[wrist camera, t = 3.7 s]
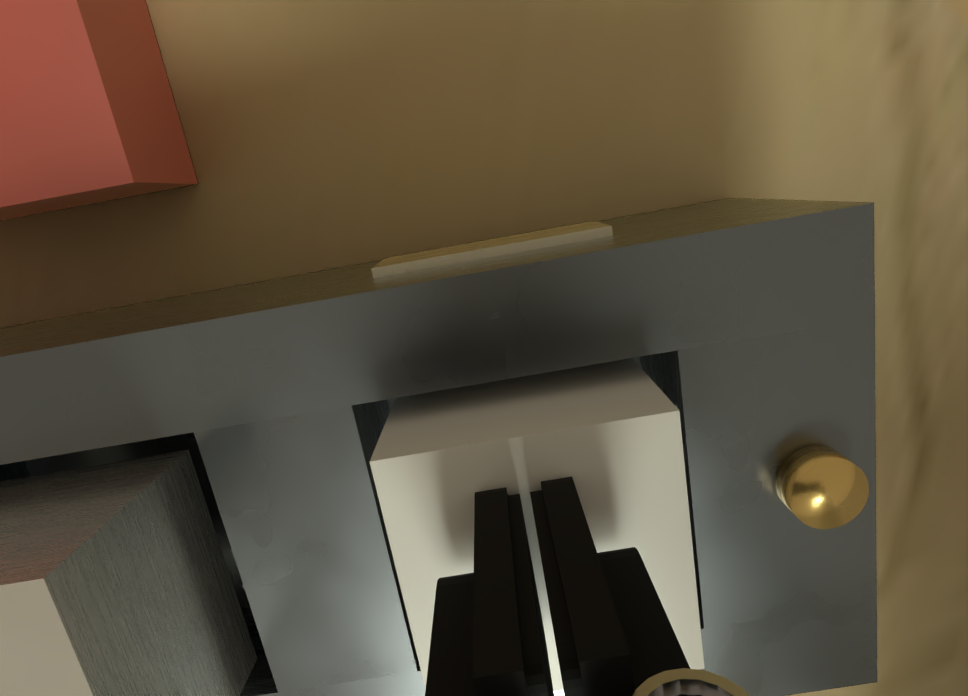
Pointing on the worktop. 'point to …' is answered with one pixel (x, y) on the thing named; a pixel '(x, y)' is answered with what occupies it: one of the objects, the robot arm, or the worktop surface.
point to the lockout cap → (84, 106)
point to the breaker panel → (360, 420)
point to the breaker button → (539, 482)
